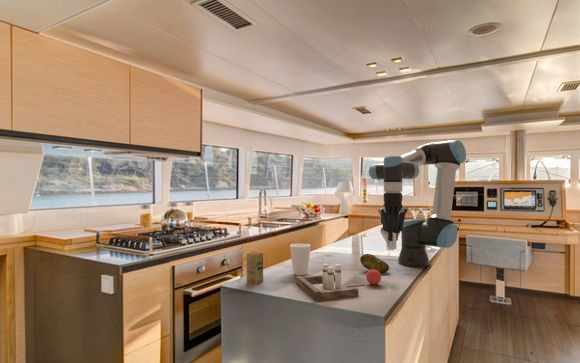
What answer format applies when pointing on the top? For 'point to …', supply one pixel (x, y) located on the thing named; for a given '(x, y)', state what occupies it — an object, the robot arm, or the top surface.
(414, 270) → the top surface
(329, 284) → the pin
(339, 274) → the front pin
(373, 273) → the ball
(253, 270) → the shoe polish box
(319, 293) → the rail
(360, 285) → the thin gray bar
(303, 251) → the foam cup
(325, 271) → the pin
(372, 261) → the potato
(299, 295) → the top surface
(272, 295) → the top surface
